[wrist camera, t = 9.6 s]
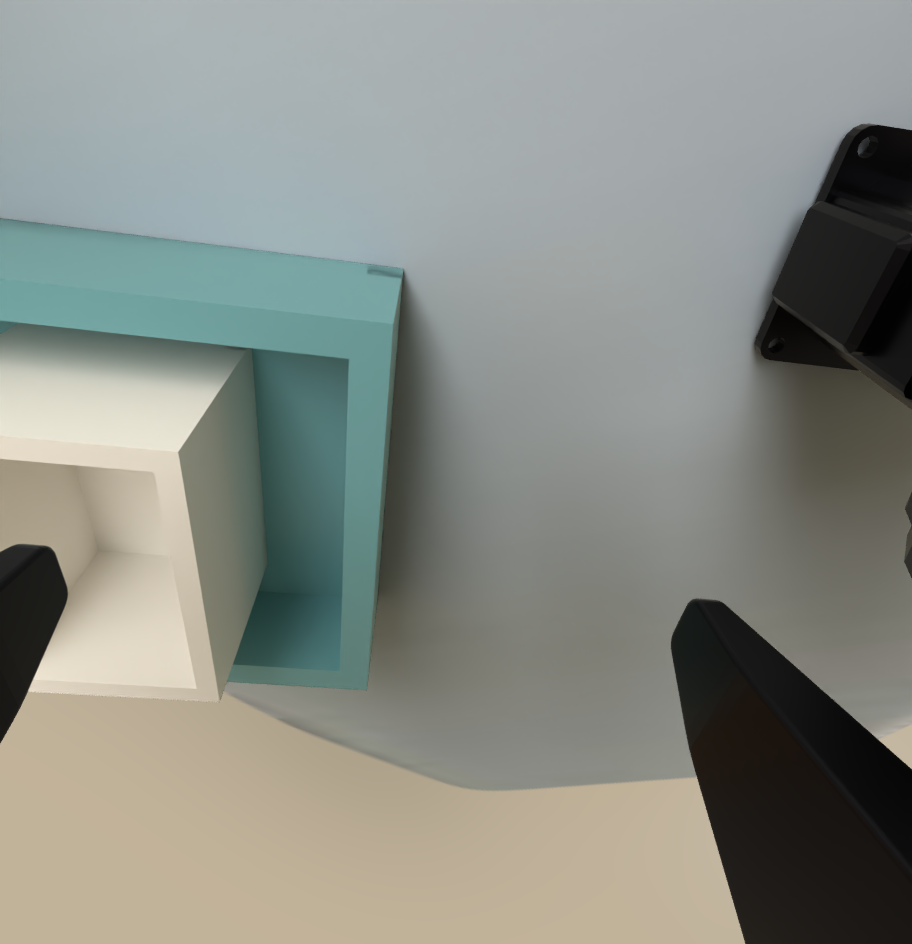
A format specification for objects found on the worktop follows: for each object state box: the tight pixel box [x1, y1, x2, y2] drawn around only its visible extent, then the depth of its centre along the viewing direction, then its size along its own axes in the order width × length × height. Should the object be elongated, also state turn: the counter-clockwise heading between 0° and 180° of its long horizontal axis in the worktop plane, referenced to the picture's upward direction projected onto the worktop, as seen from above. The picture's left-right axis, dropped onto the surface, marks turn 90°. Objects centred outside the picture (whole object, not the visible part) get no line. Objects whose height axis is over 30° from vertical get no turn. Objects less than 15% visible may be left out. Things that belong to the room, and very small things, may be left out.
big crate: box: [0, 218, 403, 690], centre depth 19 cm, size 15×14×4 cm
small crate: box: [0, 323, 268, 702], centre depth 18 cm, size 6×9×6 cm
